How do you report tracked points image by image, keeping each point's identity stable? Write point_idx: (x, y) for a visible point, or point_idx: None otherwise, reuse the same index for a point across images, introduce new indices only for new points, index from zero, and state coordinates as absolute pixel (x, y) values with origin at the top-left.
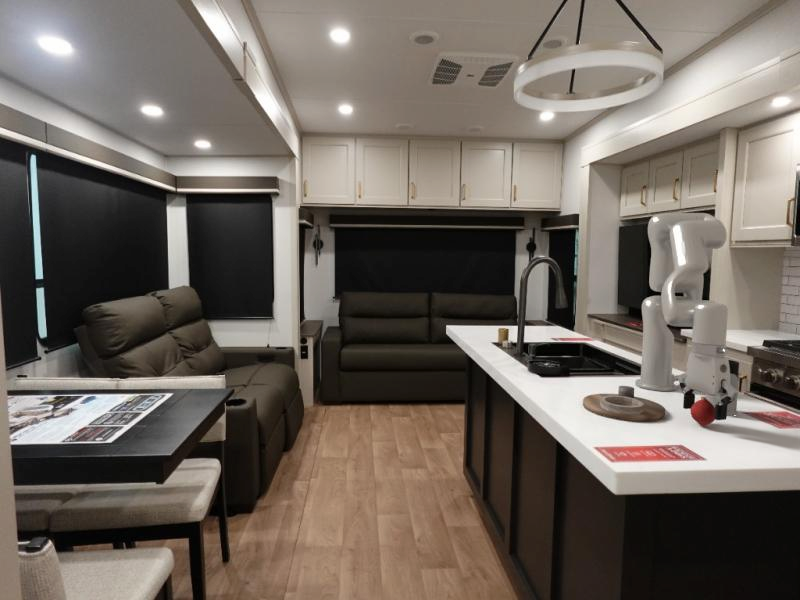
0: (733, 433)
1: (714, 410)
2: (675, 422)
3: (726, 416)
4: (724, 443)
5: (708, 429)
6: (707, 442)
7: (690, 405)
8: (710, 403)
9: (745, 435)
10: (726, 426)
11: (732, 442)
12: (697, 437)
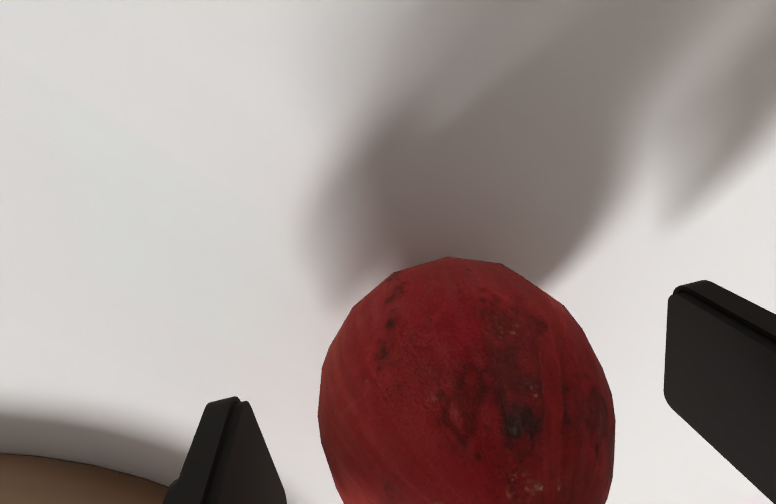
0: (619, 154)
1: (603, 374)
2: (323, 469)
3: (728, 291)
4: None
5: None
6: (702, 447)
7: (259, 477)
8: (593, 468)
9: (685, 73)
10: (441, 74)
11: (755, 300)
12: (622, 462)
